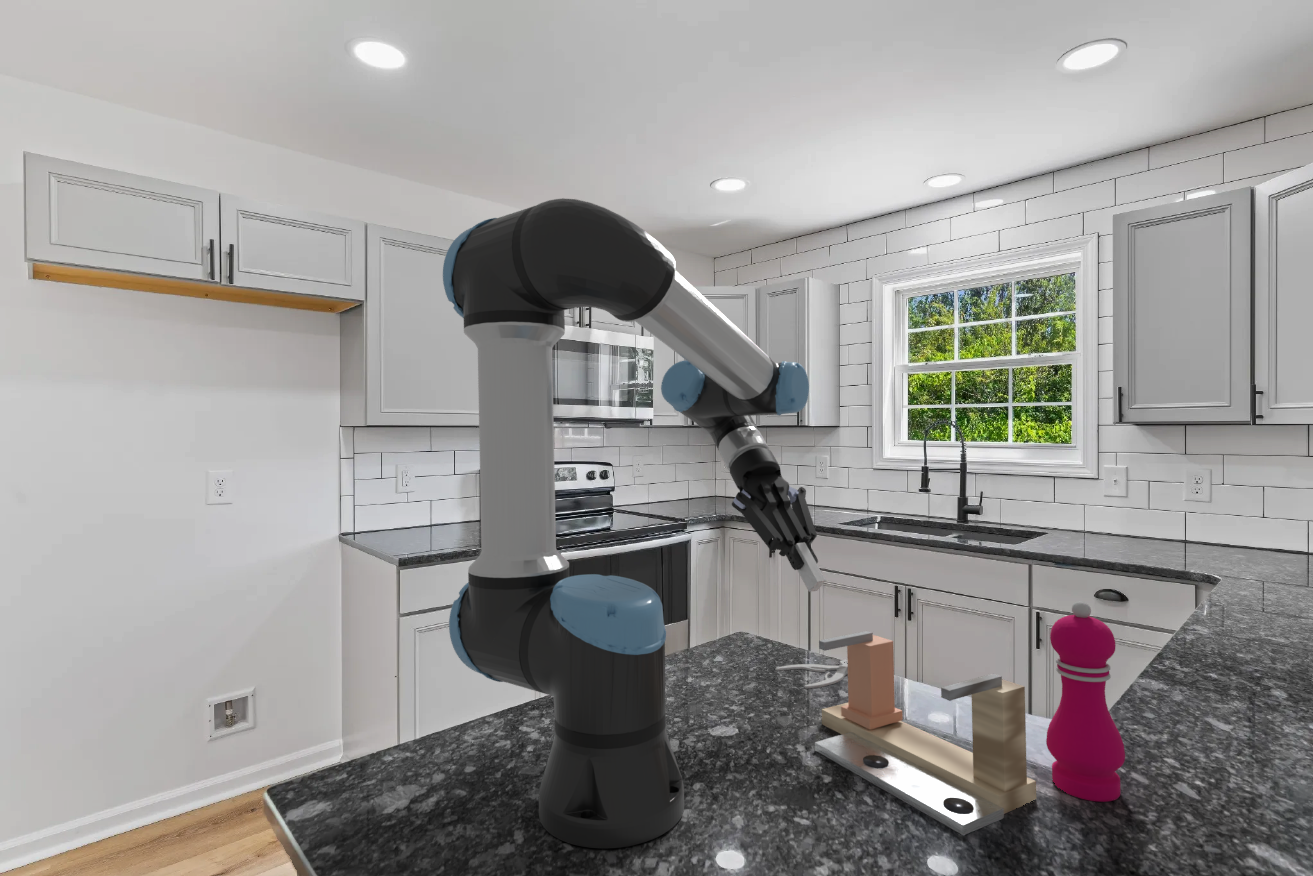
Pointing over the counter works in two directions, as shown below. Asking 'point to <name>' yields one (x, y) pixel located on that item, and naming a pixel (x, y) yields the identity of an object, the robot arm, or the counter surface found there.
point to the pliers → (838, 676)
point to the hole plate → (911, 783)
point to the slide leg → (868, 679)
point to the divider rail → (983, 772)
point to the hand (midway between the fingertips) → (817, 586)
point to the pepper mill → (1084, 710)
